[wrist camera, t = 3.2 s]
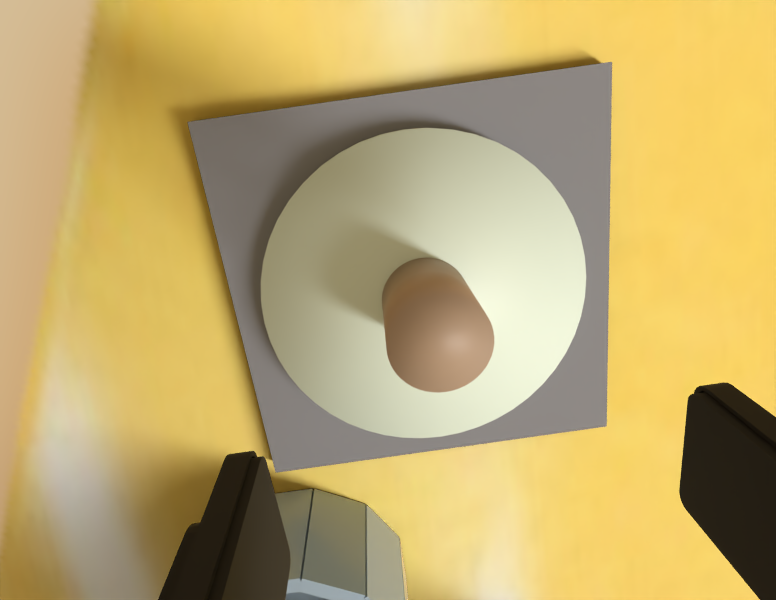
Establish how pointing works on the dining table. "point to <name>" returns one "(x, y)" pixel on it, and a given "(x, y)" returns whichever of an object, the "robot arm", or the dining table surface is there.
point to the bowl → (339, 549)
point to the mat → (388, 114)
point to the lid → (423, 283)
